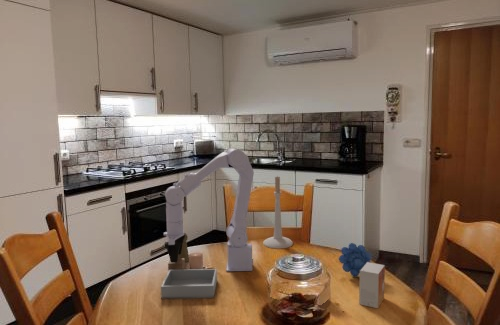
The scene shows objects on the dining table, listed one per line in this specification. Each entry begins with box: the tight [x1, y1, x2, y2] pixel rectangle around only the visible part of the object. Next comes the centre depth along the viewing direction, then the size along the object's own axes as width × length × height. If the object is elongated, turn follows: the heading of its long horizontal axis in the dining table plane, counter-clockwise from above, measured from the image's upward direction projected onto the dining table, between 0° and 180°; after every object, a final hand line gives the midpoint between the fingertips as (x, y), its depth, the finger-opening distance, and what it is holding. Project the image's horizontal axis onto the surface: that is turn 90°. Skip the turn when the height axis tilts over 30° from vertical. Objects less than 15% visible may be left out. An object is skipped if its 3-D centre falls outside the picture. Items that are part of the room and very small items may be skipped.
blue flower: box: [338, 242, 373, 278], centre depth 134 cm, size 12×7×12 cm, turn 92°
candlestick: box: [262, 175, 294, 250], centre depth 169 cm, size 13×13×30 cm
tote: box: [160, 268, 218, 300], centre depth 127 cm, size 16×13×4 cm
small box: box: [358, 261, 386, 309], centre depth 117 cm, size 8×6×10 cm
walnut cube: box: [167, 258, 186, 272], centre depth 140 cm, size 5×5×5 cm
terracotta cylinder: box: [188, 251, 204, 269], centre depth 140 cm, size 5×5×7 cm
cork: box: [178, 232, 189, 264], centre depth 152 cm, size 6×6×11 cm
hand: (176, 257), depth 139 cm, fingers open, 7 cm apart
